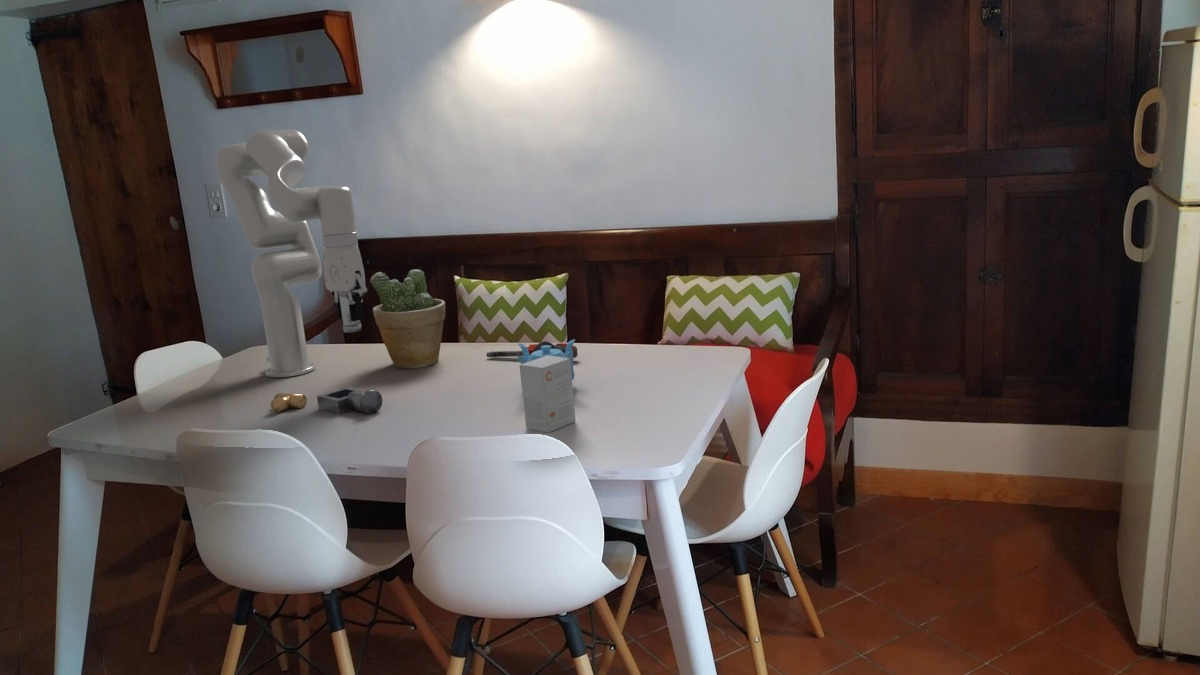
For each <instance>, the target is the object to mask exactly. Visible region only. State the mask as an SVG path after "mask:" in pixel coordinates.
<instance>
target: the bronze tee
mask: <svg viewBox="0 0 1200 675" xmlns="http://www.w3.org/2000/svg"><path fill="white" fill-rule="evenodd" d="M307 402H308V398H307V396H306V395H305V394H297V393H284V392H283V393H282V392H281V393H280V392H277V393H276V394H275V395H274V397H273V399H272V400H271V402H270V408H271V410H272V411H273V412H274V413H276V414H279V413H280V412H283V411H286V410H287V409H291V408H296V409H303V408H306V405H307V404H308V403H307Z"/></svg>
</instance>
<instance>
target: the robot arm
mask: <svg viewBox="0 0 1200 675" xmlns="http://www.w3.org/2000/svg"><path fill="white" fill-rule="evenodd" d="M308 156H309V145H308V141H307V139H306V137H305V136H304V134H303V133H301V132H300V131H298V130H296V129H293V128H292V129H290V128H287V129H284V128H283V129H273V130H267V129H266V130H260V131H257V132H254V133H253V134H252V135H250V136H249V137H248V138H247V140H246V142H238V143H231V144H228V145H224V146H223V147H221V148H220V149H219V150H218V151H217V153H216V155H215V168H216V174H217V176H218V178H219V181H220V183H221V185H222V187H223V188H224V190H225V192H226V193H227V194H228V196H229V198H230V199H231V201H232V204H233V205H234V209H235V210H236V211H235V212H236V215H237V218H238V220H239V223H240V225H241V226H240V227H241V228H242V232H243V234H244V236H245V239H246V241H247V244H248V246H250V247H251V249H253V250H256V251H257V250H259V251H261V250H262V251H263V250H264V251H265V250H270V249H278V248H285V247H289V248H290V249H283V250H276V251H269V252H265V253H262V254H260V255H258V256H256V257H255V258H254V259H253V261H252V263H251V266H250V267H251V268H250V269H251V275H252V279H253V281H254V282H253V283H254V284H255V287H256V291H257V294H258V298H259V302H260V307H261V312H262V313H261V314H262V319H263V325H264V333H265V338H266V345H267V350H268V351H267V352H268V356H267V357H266V362H267V363H268V362H269V364H270V367H268V368H266V369H265V375H266V377H268V378H289V377H294V376H295V377H296V376H301V375H304V374H307V373H311V372H312V371H314V370H315V369H316V363H315V362H312V361H309V356H308V348H307V341H306V335H305V328H304V322H303V314H302V310H301V308H302V307H301V304H300V302H299V299H298V298H297V297H296V296H295V295H294V294H293V293H292V292H291V291H290V288H292V287H297V286H302V285H307V284H312V283H315V282H317V281H318V280H319V279H320V278H321V277H322V274H323V276H324V280H323V281H324V285H325V286H324V287H325V289H326V290H328V291H329V292H330V293H331V294H332V296H333V298H334V303H335V304H336V308H337V310H336V311H337V316H338V320H339V321H343V320H342V313H341V306H340V299H339V295H338V291H339V292H348V296H349V300H350V303H351V304H349V311H350V318H351V321H358V320H360V321H361V320H364V318H365V317H364V311H363V310H364V309H363V302H364V297H365V295H366V293H367V292H368V288H367V286H366V275H365V269H364V264H363V260H362V256H361V252H360V248H359V243H358V242H359V241H358V234H357V228H356V227H357V226H356V218H355V212H354V205H353V204H354V202H353V198H352V192H351V189H350V188H349V187H347V186H343V185H341V186H340V185H339V186H335V185H318V186H306V187H297V188H294V187H295V186H297V185H298V184H299V183H300V182H301V180H302V179H303V178H304V175H305V170H306V167H305V163H304V162H305V161H306V160H307V158H308ZM260 176H267V177H268V178H269V179H268V183H267V189H268V190H267V191H268V195H267V193H266V192H265V191H264V189H263V188H261V186H259V184H257V183H256V182H254V181H253V180H252V179H250V177H260ZM269 198H270V199H269ZM270 201H271V203H270ZM271 204H272V205H273V207H274V208H275V209H276V210H275V209H273V207H272V206H271ZM314 220H320V225H321V233H322V239H323V240H322V241H323V250H322V251H323V252H322V261H321V258H320V255H319V251H318V249H317V247H316V244H315V240H314V237H313V235H312V233H311V230H310V227H309V224H308V222H307V221H314ZM322 264H323V265H322ZM354 287H355V288H356V290H351V289H354ZM354 292H356V293H355V295H354V296H353V293H354Z"/></svg>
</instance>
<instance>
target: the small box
mask: <svg viewBox="0 0 1200 675" xmlns="http://www.w3.org/2000/svg"><path fill="white" fill-rule="evenodd" d="M519 373H520V383H521V392H522V393H521V394H522V402H523V411H524V412H523V413H524V419H525V428H526V430H532V431H538V432H541V433H547V434H549V433H551V432H554V431H556V430H558V429H560V428H563V427H565V426H568V425H570V424H572V423H575V422H576V411H575V400H574V390H573V388H574V387H573V380H572V376H571V365H570V359H569V358H564V357H557V356H544V357H541V358H538V359H535V360H533V361H530V362H527V363H524V364H521V363H520V364H519Z"/></svg>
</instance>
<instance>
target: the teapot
mask: <svg viewBox="0 0 1200 675" xmlns="http://www.w3.org/2000/svg"><path fill="white" fill-rule="evenodd" d="M575 341H576V339H575V338H574V339H571V340H569V341H568V342H567V343H566V344H567V346H566V351H565V354H564V353H563V352H562V351H561V350H559V349H551V346H550V345H545V346H542V347H541V349H542V350H538V351H535V352H533V353H532V354H531V355H530V354H529V351H528V349H527V347H528V346H526V345H524V344H523V343H518V346H519V347H520V349H521V351H522V352H523V356H515V357H516V358H518V361H520V365H521V364H524V363H527V362H530V361H533V360H535V359H538V358H541V357H544V356H557V357H564V358H569V359H570V365H571V376H572V381H573V380H574V379H575V370H574V359H573V353H574V351H573V352H572V346H574V342H575Z"/></svg>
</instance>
